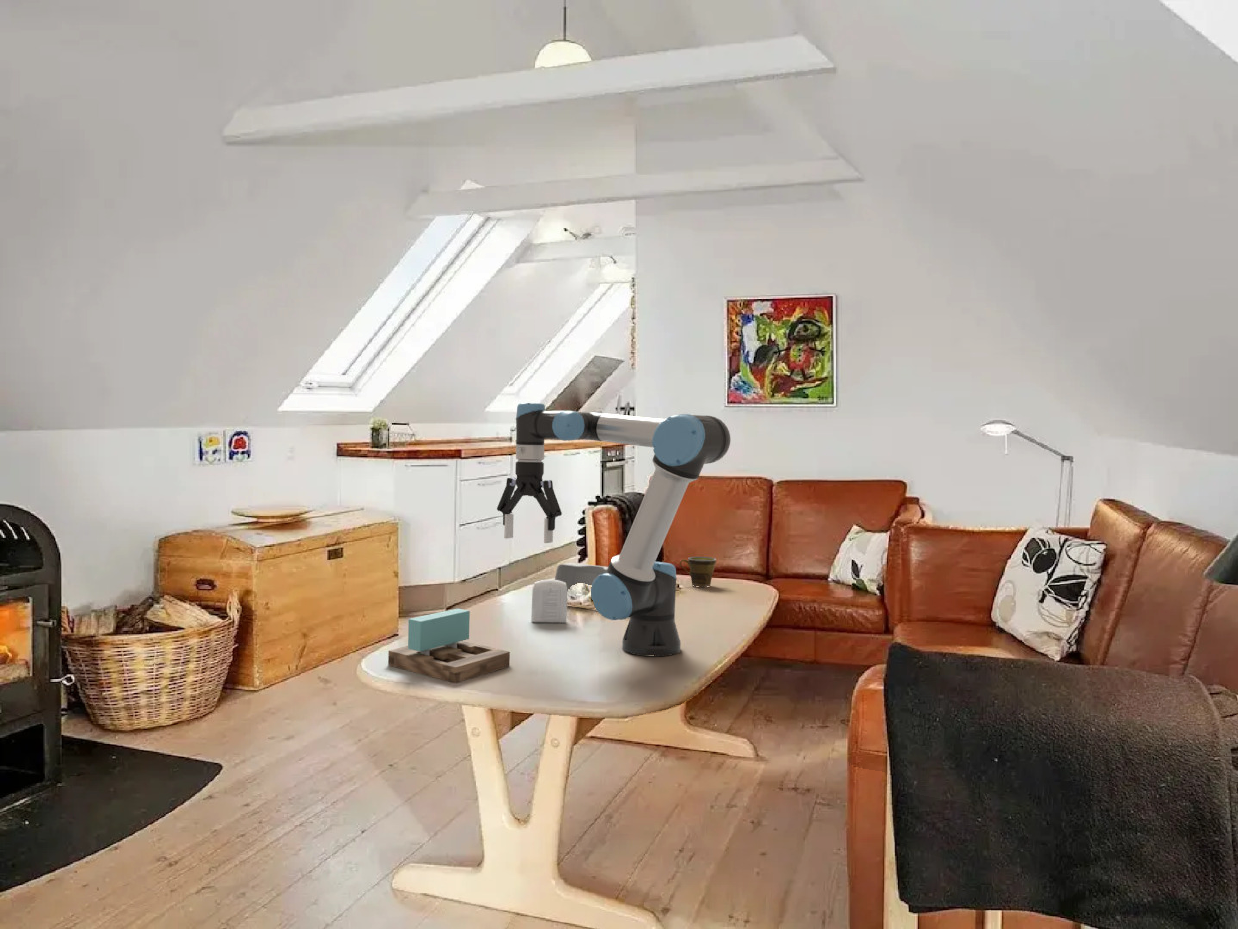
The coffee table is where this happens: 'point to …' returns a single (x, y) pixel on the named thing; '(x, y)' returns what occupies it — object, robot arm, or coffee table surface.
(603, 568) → the grey storage bin
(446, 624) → the block with headed pegs
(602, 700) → the coffee table surface
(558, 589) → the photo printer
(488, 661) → the keyhole board
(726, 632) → the coffee table surface
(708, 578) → the ceramic cup
